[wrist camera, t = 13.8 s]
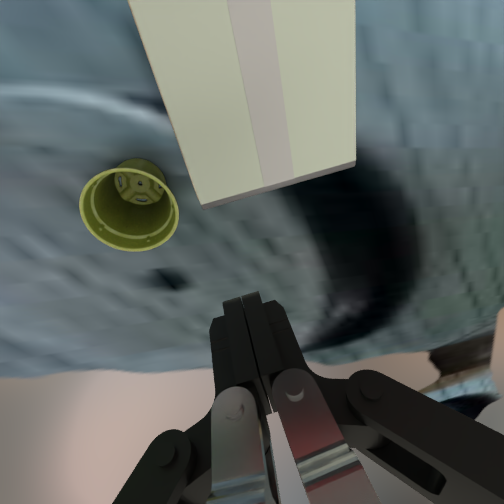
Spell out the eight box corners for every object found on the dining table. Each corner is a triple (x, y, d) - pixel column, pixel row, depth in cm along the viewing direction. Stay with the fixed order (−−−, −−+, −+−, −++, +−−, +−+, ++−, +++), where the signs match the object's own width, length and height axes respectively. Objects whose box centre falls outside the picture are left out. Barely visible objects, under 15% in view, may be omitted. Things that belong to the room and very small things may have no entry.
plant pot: (180, 216, 41) (180, 251, 34) (106, 216, 39) (89, 253, 31) (177, 146, 35) (176, 169, 28) (92, 142, 33) (68, 166, 26)
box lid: (202, 206, 29) (203, 212, 28) (124, -17, 20) (121, -21, 19) (350, 164, 30) (356, 168, 29) (346, -74, 20) (355, -81, 19)
